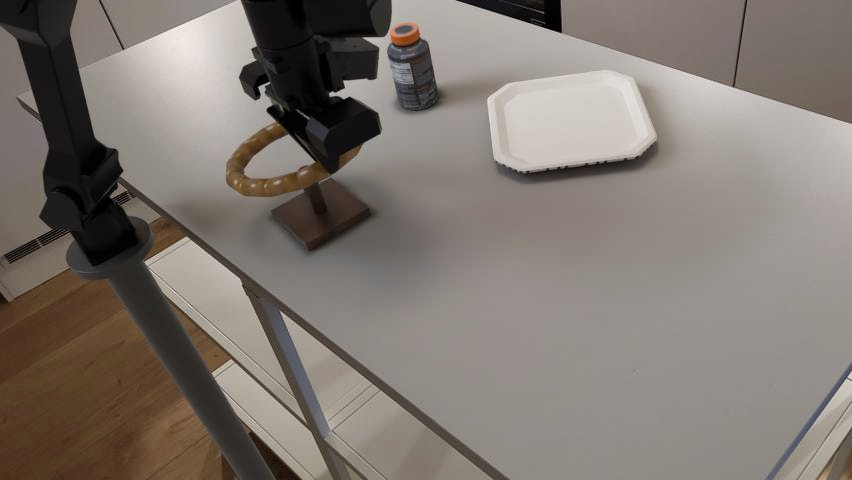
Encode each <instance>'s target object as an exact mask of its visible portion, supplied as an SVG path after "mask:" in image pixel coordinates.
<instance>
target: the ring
mask: <svg viewBox="0 0 852 480" xmlns="http://www.w3.org/2000/svg"><path fill="white" fill-rule="evenodd" d="M287 136H289V134H288V133H287V132H286V131H285V130H284V129H283V128H282V127H281V126H280V125H279V124H278V123H277V122H276V121H274V122H272V123H269V124H268V125H266V126H264V127H262V128H261V129H259V130H258V131H256V132H255V133H253V134H252V135H251V136H250V137H249V138H247V139H246V140H244V141H243V142H241V143H240V144H239V146H238V147H237V148H236V149H235V151H234V152H233V153H232V155H231V156H230V157H229V158H228V160H227V162H226V163H225V182H226V184H227V186H228V187H230V188H231V189H232V190H234V191H235V192H237V193H238V194H240V195H242V196H244V197H249V198H250V197H251V198H275V197H278V196H283V195H287V194H290V193H295V192H298V191H301V190H303V189H305V188H307V187H309V186H311V185H313V184H315V183H317V182H319V183H320V182H322V181H324V180H326V179H328V178H330V177H332V176H333V175H335V174H337V172H339V171H340V170H341V169H343V167H345V166H346V165H347V164H349V163H350V162H351V161H352V160H353V159H354V158H356V157H357V156H358V155H359V153H360V151H361V149H362V148H363V145H364V144H365V143H363V144H361V145H359V146H358V147H356V148H354V149H352V150H350V151H348V152H346V153H345V154H343V155H341V156H340V162H339V170H338V171H337V172H335V173H333V174H329V173H328V172H327V171H326V170H325V169H324V167H323V166H322V165H321V164H320V163H319V162H318V161H317V162H315V161H314V162H313V163H311V164H308V165H309V166H307V167H305V168H303V169H301V170H299V171H298V170H297V171H292V172H289V173H285V174H281V175H277V176H274V177H270V178H260V177H259V178H258V177H257V178H255V177H249V176H247V175H245V169H246V167H247V166H248V165H249V163H250V162H251V161H252V159H253V158H254V157H255V156H257V154H259V153H260V152H262V151H263V150H264V149H266V147H268V146H269V145H271V144H272V143H274V142H275V141H278V140H281V139H282V138H284V137H287Z"/></svg>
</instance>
